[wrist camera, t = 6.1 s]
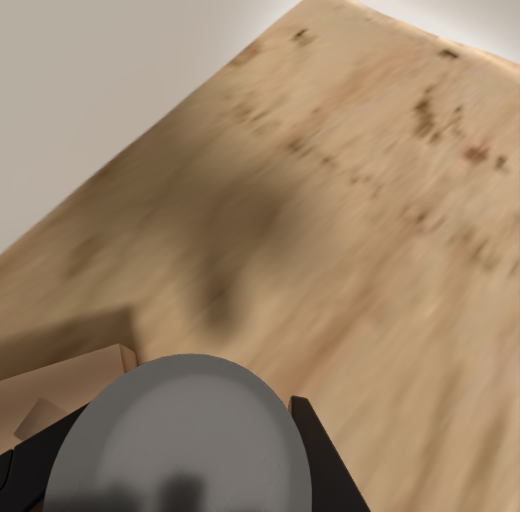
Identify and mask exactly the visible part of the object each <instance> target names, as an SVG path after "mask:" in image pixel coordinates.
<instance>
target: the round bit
mask: <svg viewBox="0 0 520 512" xmlns="http://www.w3.org/2000/svg"><path fill="white" fill-rule="evenodd" d="M311 511H312V487H311V477H310V468H309V464H308V459H307V455H306V450H305V447H304V444H303V441H302V438H301V436H300V433H299V430H298V428H297V426H296V424H295V422H294V420H293V418H292V416H291V414H290V413H289V411H288V410H287V408H286V407H285V405H284V404H283V402H282V401H281V400H280V398H279V397H278V396H277V395H276V394H275V392H274V391H273V390H272V389H271V388H270V387H269V386H268V385H267V384H266V383H265V382H264V381H262V380H261V379H260V378H259V377H257V376H256V375H255V374H253V373H252V372H250V371H249V370H247V369H246V368H244V367H242V366H240V365H238V364H236V363H234V362H231V361H228V360H225V359H223V358H219V357H215V356H210V355H203V354H178V355H172V356H167V357H161V358H158V359H155V360H152V361H149V362H146V363H144V364H142V365H140V366H138V367H136V368H134V369H132V370H130V371H128V372H127V373H125V374H123V375H122V376H120V377H119V378H117V379H116V380H115V381H113V382H112V383H111V384H110V385H108V386H107V387H106V388H105V389H103V390H102V391H101V392H100V393H99V394H98V395H97V396H96V397H95V398H94V399H93V400H92V401H91V402H90V404H89V405H88V406H87V407H86V408H85V410H84V411H83V412H82V413H81V415H80V416H79V417H78V419H77V420H76V422H75V423H74V425H73V426H72V428H71V429H70V431H69V432H68V434H67V436H66V438H65V440H64V442H63V444H62V446H61V448H60V450H59V452H58V455H57V457H56V460H55V462H54V465H53V467H52V470H51V474H50V477H49V481H48V485H47V488H46V493H45V499H44V505H43V512H311Z"/></svg>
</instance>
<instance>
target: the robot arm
mask: <svg viewBox="0 0 520 512" xmlns="http://www.w3.org/2000/svg"><path fill="white" fill-rule="evenodd" d="M90 402H91V401H90ZM90 402H89V403H87V404H85V405H84V406H82V407H80V408H79V409H77V410H75V411H73V412H72V413H70V414H68V415H67V416H65V417H63V418H62V419H60V420H58V421H57V422H55V423H53V424H52V425H50V426H48V427H46V428H45V429H43V430H41V431H40V432H38V433H36V434H35V435H33V436H31V437H30V438H28V439H26V440H25V441H23V442H21V443H19V444H18V445H16V446H15V447H14V450H13V449H9V450H7V451H6V452H4V453H2V454H1V455H0V512H43V505H44V499H45V493H46V488H47V485H48V481H49V477H50V474H51V470H52V467H53V465H54V462H55V460H56V457H57V455H58V452H59V450H60V448H61V446H62V444H63V442H64V440H65V438H66V436H67V434H68V432H69V431H70V429H71V428H72V426H73V425H74V423H75V422H76V420H77V419H78V417H79V416H80V415H81V413H82V412H83V411H84V410H85V408H86V407H87V406H88V405H89V404H90ZM288 411H289V413H290V414H291V416H292V418H293V420H294V422H295V424H296V426H297V428H298V430H299V433H300V436H301V438H302V441H303V444H304V447H305V450H306V455H307V459H308V464H309V468H310V477H311V487H312V511H311V512H371V511H370V509H369V507H368V506H367V504H366V502H365V500H364V498H363V497H362V495H361V493H360V491H359V490H358V488H357V486H356V484H355V482H354V481H353V479H352V477H351V475H350V473H349V472H348V470H347V468H346V466H345V465H344V463H343V461H342V459H341V457H340V456H339V454H338V452H337V450H336V449H335V447H334V445H333V443H332V441H331V440H330V438H329V436H328V434H327V433H326V431H325V429H324V427H323V425H322V424H321V422H320V420H319V418H318V416H317V415H316V413H315V411H314V409H313V408H312V406H311V404H310V402H309V400H308V399H307V398H304V397H299V396H291V397H290V401H289V405H288Z"/></svg>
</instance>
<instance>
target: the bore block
mask: <svg viewBox="0 0 520 512" xmlns="http://www.w3.org/2000/svg"><path fill="white" fill-rule="evenodd" d="M136 367H138V365H137V359H136V354H135V352H133V351H132V350H130V349H128V348H127V347H125V346H123V345H121V344H120V343H118V344H115V345H112V346H109V347H106V348H102V349H99V350H96V351H93V352H90V353H86V354H83V355H80V356H77V357H74V358H71V359H67V360H64V361H61V362H58V363H55V364H52V365H48V366H45V367H42V368H39V369H36V370H33V371H29V372H26V373H23V374H20V375H17V376H13V377H10V378H7V379H4V380H1V381H0V455H1V454H2V453H4V452H6V451H7V450H9V449H13V450H14V447H15V446H16V445H18V444H19V443H21V442H23V441H25V440H26V439H28V438H30V437H31V436H33V435H35V434H36V433H38V432H40V431H41V430H43V429H45V428H46V427H48V426H50V425H52V424H53V423H55V422H57V421H58V420H60V419H62V418H63V417H65V416H67V415H68V414H70V413H72V412H73V411H75V410H77V409H79V408H80V407H82V406H84V405H85V404H87V403H89V402H90V401H92V400H93V399H94V398H95V397H96V396H97V395H98V394H99V393H100V392H101V391H102V390H103V389H105V388H106V387H107V386H108V385H110V384H111V383H112V382H113V381H115V380H116V379H117V378H119V377H120V376H122V375H123V374H125V373H127V372H128V371H130V370H132V369H134V368H136Z"/></svg>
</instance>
